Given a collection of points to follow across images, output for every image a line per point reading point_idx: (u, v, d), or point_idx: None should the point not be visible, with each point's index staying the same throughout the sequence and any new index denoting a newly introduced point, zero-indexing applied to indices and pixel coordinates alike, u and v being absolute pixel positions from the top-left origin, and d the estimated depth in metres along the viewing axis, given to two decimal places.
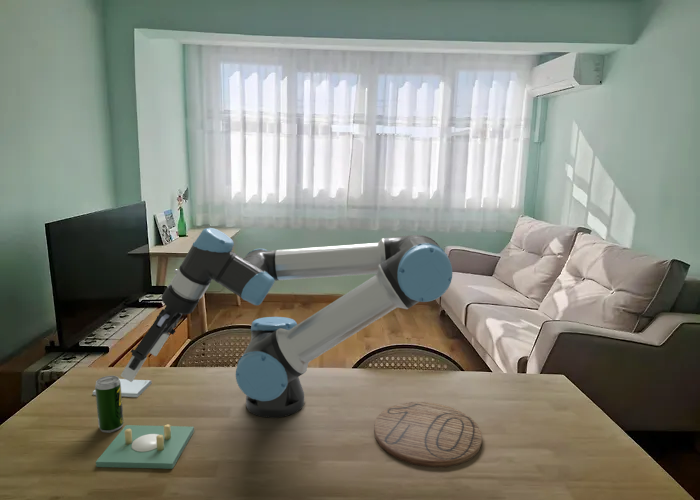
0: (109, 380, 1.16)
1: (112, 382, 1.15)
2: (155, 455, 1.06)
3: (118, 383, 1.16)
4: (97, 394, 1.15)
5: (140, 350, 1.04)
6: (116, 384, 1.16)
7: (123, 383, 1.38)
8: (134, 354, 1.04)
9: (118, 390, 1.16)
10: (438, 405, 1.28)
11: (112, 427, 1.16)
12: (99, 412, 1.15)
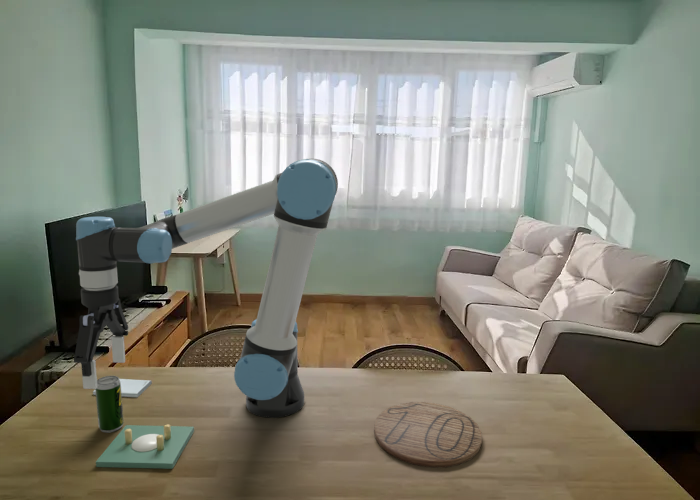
0: (109, 380, 1.16)
1: (112, 382, 1.15)
2: (155, 455, 1.06)
3: (118, 383, 1.16)
4: (97, 394, 1.15)
5: (79, 354, 1.05)
6: (116, 384, 1.16)
7: (123, 383, 1.38)
8: (76, 360, 1.04)
9: (118, 390, 1.16)
10: (438, 405, 1.28)
11: (112, 427, 1.16)
12: (99, 412, 1.15)
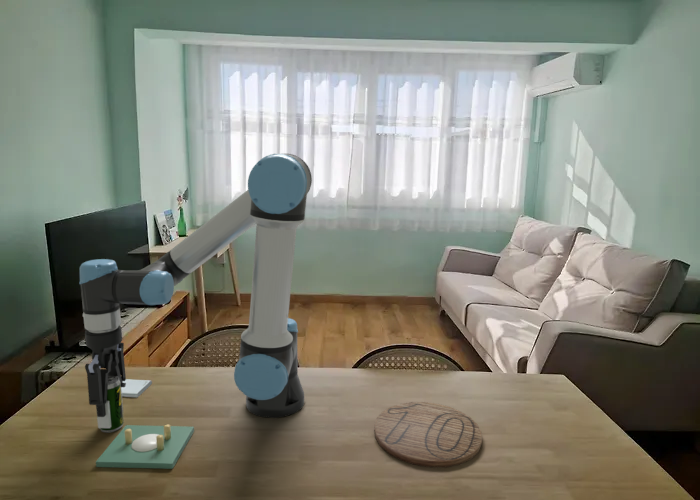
0: (109, 380, 1.16)
1: (112, 382, 1.15)
2: (155, 455, 1.06)
3: (118, 383, 1.16)
4: None
5: (93, 398, 1.10)
6: (116, 384, 1.16)
7: None
8: (91, 403, 1.11)
9: (118, 390, 1.16)
10: (438, 405, 1.28)
11: (112, 427, 1.16)
12: None
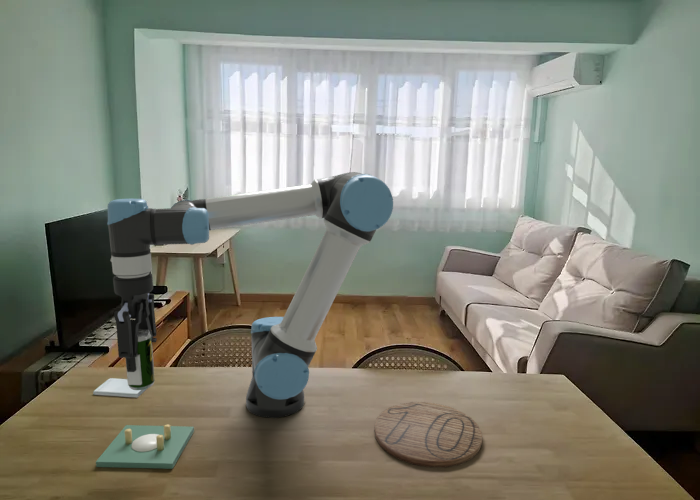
0: (139, 333, 1.06)
1: (142, 334, 1.05)
2: (155, 455, 1.06)
3: (149, 336, 1.06)
4: None
5: (123, 350, 1.00)
6: (147, 337, 1.05)
7: (123, 383, 1.38)
8: (121, 355, 1.00)
9: (149, 344, 1.06)
10: (438, 405, 1.28)
11: (143, 384, 1.06)
12: None
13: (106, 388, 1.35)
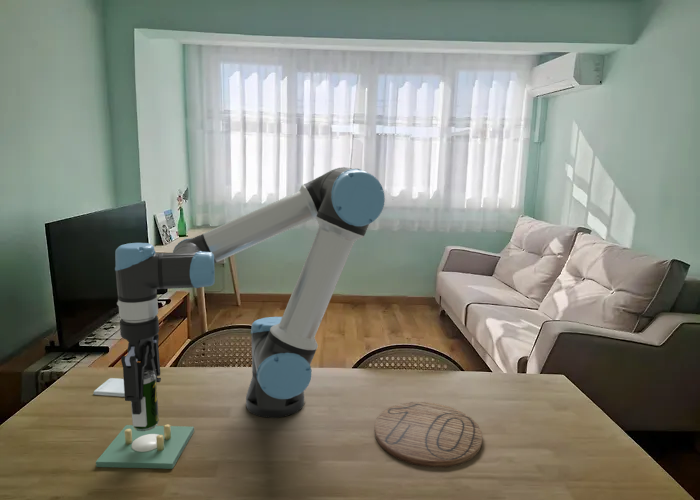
0: (144, 374, 1.07)
1: (148, 376, 1.06)
2: (155, 455, 1.06)
3: (154, 378, 1.07)
4: None
5: (129, 394, 1.01)
6: (152, 379, 1.07)
7: None
8: (127, 399, 1.01)
9: (154, 385, 1.07)
10: (438, 405, 1.28)
11: (147, 425, 1.07)
12: None
13: (107, 388, 1.35)
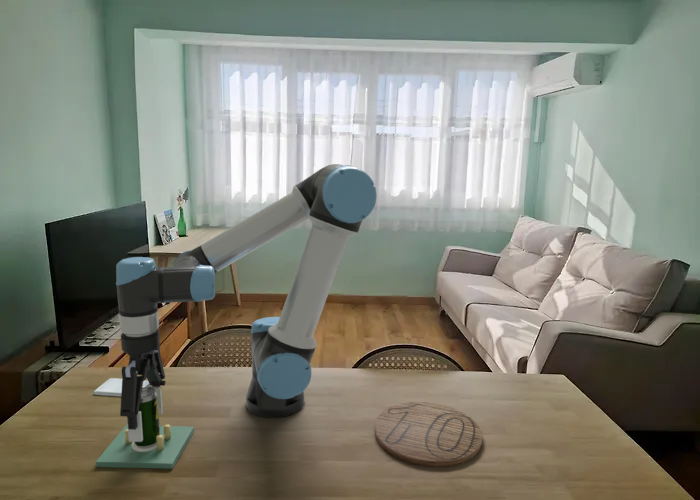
0: (145, 392, 1.08)
1: (149, 394, 1.07)
2: (155, 455, 1.06)
3: (155, 395, 1.08)
4: None
5: (125, 408, 1.00)
6: (153, 396, 1.07)
7: None
8: (122, 414, 1.00)
9: (155, 403, 1.08)
10: (438, 405, 1.28)
11: (149, 443, 1.08)
12: None
13: (107, 388, 1.35)
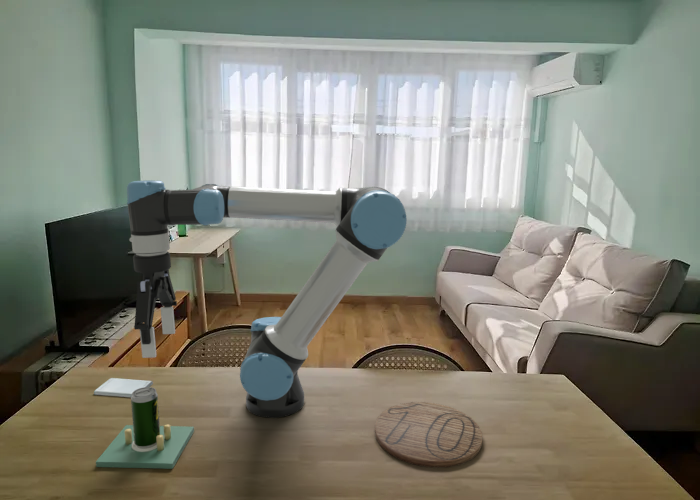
0: (146, 392, 1.08)
1: (149, 394, 1.07)
2: (155, 455, 1.06)
3: (155, 395, 1.08)
4: (133, 407, 1.06)
5: (140, 320, 1.01)
6: (153, 396, 1.07)
7: (124, 383, 1.38)
8: (137, 327, 1.01)
9: (155, 403, 1.08)
10: (438, 405, 1.28)
11: (149, 443, 1.08)
12: (135, 427, 1.07)
13: (107, 388, 1.35)
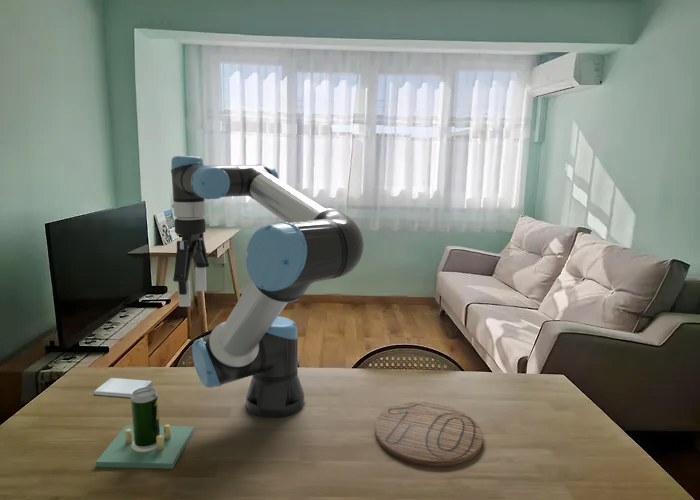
0: (146, 392, 1.08)
1: (149, 394, 1.07)
2: (155, 455, 1.06)
3: (155, 395, 1.08)
4: (133, 407, 1.06)
5: (178, 273, 1.20)
6: (153, 397, 1.07)
7: (124, 383, 1.38)
8: (175, 278, 1.19)
9: (155, 403, 1.08)
10: (439, 405, 1.28)
11: (149, 443, 1.08)
12: (135, 427, 1.07)
13: (107, 388, 1.35)
